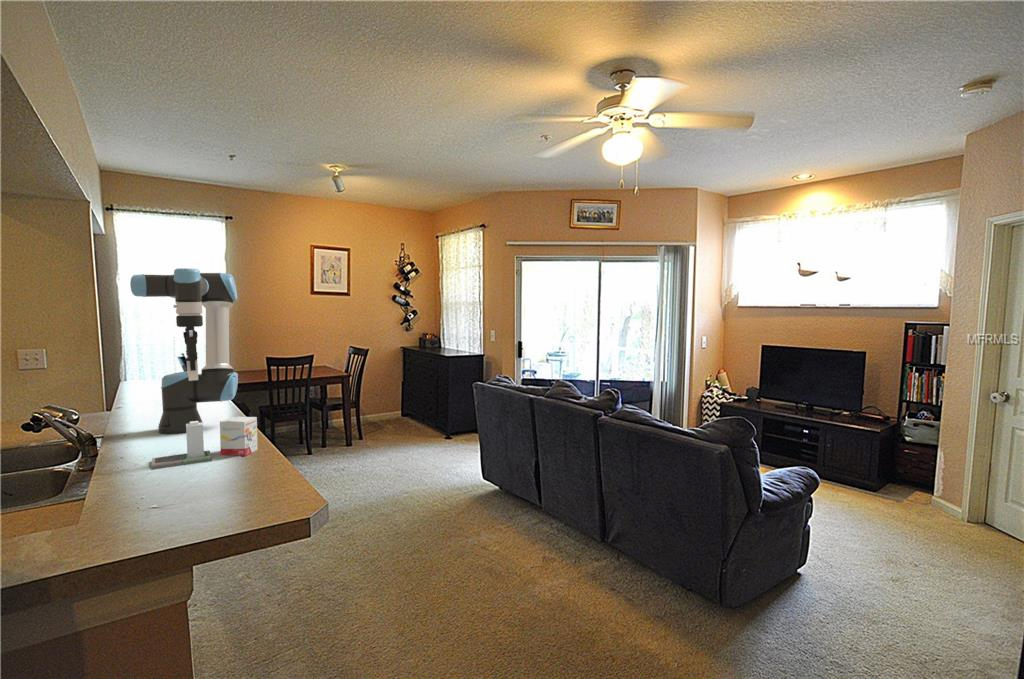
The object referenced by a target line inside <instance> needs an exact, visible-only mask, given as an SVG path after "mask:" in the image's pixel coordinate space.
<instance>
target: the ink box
mask: <svg viewBox="0 0 1024 679" xmlns="http://www.w3.org/2000/svg"><path fill="white" fill-rule="evenodd" d="M257 418H258V417H257V416H232V417H229V418H226V419H224V420H220V421H219V436H220V437H219V438H220V439H219V441H220V456H240V457H246V456H248V455H250V454H252V453H255V452H256V451H258V419H257Z"/></svg>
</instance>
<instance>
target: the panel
mask: <svg viewBox="0 0 1024 679" xmlns="http://www.w3.org/2000/svg"><path fill="white" fill-rule="evenodd" d="M208 462H213V459H212V455H211V451H210V450H204V457H197V458H190V459H188V457H187V452H186V453H181V454H179V453H178V454H173V455H166V456H158V457H152V459H151V466H150V471H155V470H161V469H167V468H168V469H169V468H174V467H182V466H188V465H194V464H203V463H208Z"/></svg>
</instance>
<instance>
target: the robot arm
mask: <svg viewBox="0 0 1024 679" xmlns="http://www.w3.org/2000/svg"><path fill="white" fill-rule="evenodd" d="M129 288H130V291H131V293H132V295H133V296H135V297H140V298H141V297H142V298H146V297H147V298H152V297H153V298H154V297H155V298H156V297H161V298H162V297H163V298H164V297H165V298H166V297H170V298H173V299H175V304H174V305H173V308H175V313H176V317H175V321H176V322H175V323H176V326H177V327H178V328H184V331H183V333H182V334H183V338H184V345H185V348H186V349H185V350H186V351H185V353H186V357H185V359H184V361H185V362H186V371H180V372H174V373H170V374H169V373H168V374H166V375H164V376H163V377H162V378H161V386H160V389H161V402H162V404H161V405H162V413H161V416H160V421H159V423H158V426H157V428H158V430H157V431H158V433H159V434H182V433H186V424H190V422H192V421H199V422H202V424H204V423H203V420H202V417H201V416H200V413H199V410H198V407H197V403H211V402H212V403H213V402H221V403H222V402H225V401H226V402H227V401H232V400H233V399H234V398H235V396H236V394H237V391H238V386H239V385H238V383H239V374H238V372H235V371H234V367H232V366H231V364H230V308H232V307H233V306H234V302H235V301H237V300H238V293H237V292H238V291H237V286H236V282H235V278H234V276H233V274H230V273H222V272H200V270H199V269H198V268H179V267H178V268H175V269H174V270H173V274H144V273H143V274H134V275H132V276H131V278H130V287H129ZM203 307H204V308H205V366H203V367H202V368H201V371H200V372H201V373H199V368H198V367H199V366H198V365H199V364H198V352H197V344H198V336H199V335H198V331H196V330H195V327H197V328H198V327H203V326H204V320H203V315H201V314H203Z"/></svg>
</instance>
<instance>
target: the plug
mask: <svg viewBox="0 0 1024 679" xmlns="http://www.w3.org/2000/svg"><path fill="white" fill-rule="evenodd" d="M202 423H203V421H202V422H199V421H192V422H190V424H186V432H185V433H186V453H187V457H188V459H190V458H197V457H204V451H205V445H204V425H203V424H204V423H203V424H202Z"/></svg>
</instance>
